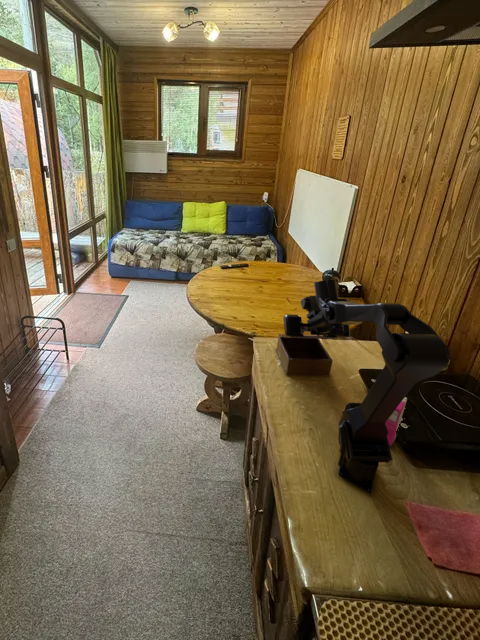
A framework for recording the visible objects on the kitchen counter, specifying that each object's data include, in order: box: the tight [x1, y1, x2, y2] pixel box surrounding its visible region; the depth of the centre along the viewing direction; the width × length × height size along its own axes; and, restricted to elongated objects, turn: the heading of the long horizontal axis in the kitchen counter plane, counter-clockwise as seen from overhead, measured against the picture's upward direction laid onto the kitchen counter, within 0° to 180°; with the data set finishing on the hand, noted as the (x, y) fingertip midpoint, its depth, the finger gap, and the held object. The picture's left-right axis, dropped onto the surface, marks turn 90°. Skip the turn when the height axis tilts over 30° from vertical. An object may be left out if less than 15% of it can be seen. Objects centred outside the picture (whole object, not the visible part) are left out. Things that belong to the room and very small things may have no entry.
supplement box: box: [385, 396, 408, 448], centre depth 76 cm, size 6×6×12 cm
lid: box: [278, 328, 336, 340], centre depth 101 cm, size 13×14×4 cm
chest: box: [276, 335, 334, 377], centre depth 102 cm, size 13×14×6 cm
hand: (306, 330), depth 99 cm, fingers closed on lid, 6 cm apart
